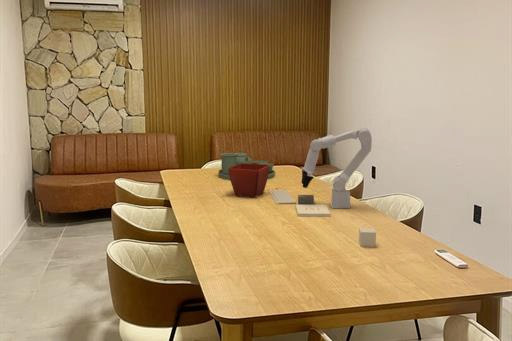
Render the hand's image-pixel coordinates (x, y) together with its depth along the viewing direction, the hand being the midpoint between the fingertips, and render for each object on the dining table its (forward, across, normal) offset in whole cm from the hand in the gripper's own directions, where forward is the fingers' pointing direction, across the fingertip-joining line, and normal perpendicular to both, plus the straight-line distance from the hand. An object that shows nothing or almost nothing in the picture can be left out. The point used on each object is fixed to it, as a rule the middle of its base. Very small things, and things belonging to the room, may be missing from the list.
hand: (304, 185), depth 262 cm
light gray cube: (+2, +65, +22) cm, 68 cm away
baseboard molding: (+15, -16, -8) cm, 23 cm away
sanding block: (+10, 0, +4) cm, 11 cm away
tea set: (+23, -82, -28) cm, 89 cm away
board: (+9, +15, +6) cm, 18 cm away
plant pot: (+19, -23, -26) cm, 39 cm away
